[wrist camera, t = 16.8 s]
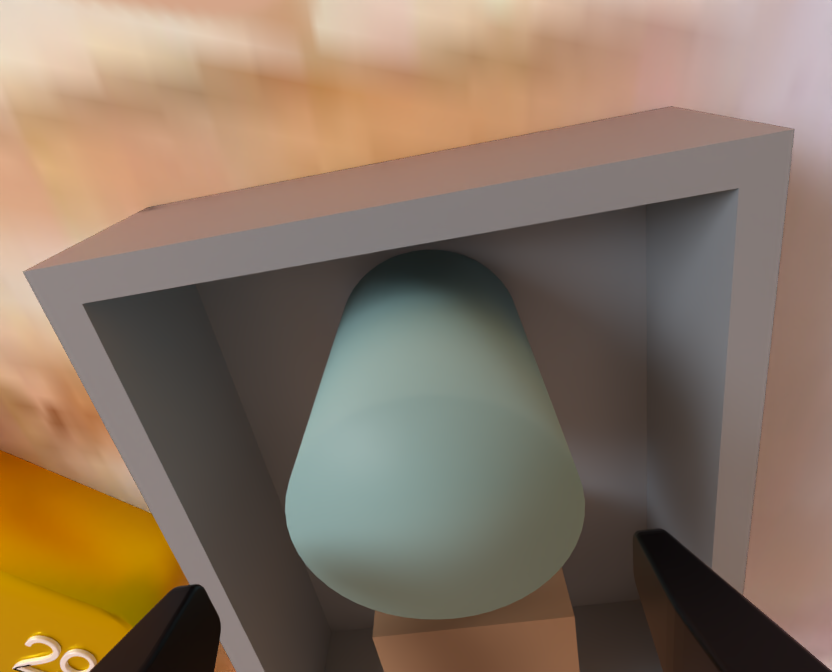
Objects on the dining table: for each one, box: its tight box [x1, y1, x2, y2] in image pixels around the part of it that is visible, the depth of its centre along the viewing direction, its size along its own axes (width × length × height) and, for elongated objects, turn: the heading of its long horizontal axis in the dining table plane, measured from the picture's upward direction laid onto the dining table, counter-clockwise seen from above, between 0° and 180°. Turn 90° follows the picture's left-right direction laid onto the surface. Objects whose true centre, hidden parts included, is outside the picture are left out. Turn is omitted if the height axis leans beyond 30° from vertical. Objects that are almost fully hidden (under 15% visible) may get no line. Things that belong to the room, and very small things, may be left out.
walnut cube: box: [372, 567, 580, 672], centre depth 17 cm, size 5×5×5 cm
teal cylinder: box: [285, 250, 585, 620], centre depth 12 cm, size 5×5×7 cm
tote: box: [23, 106, 794, 672], centre depth 16 cm, size 14×18×5 cm
